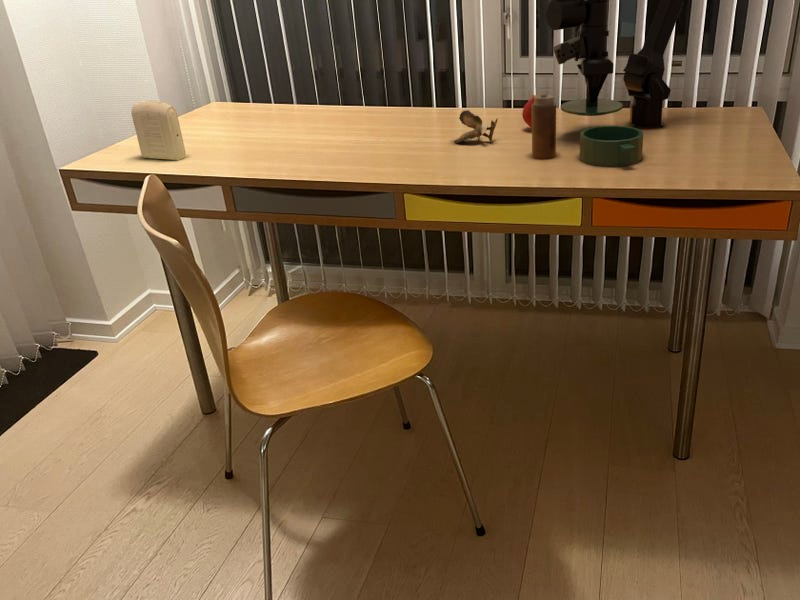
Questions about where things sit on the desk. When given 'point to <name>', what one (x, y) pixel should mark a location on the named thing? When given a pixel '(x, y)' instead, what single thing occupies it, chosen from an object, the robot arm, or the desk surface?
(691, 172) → the desk surface
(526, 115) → the onion
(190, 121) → the desk surface
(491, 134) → the eagle figurine
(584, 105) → the lid
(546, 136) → the pepper mill
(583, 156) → the pot
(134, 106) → the photo printer
